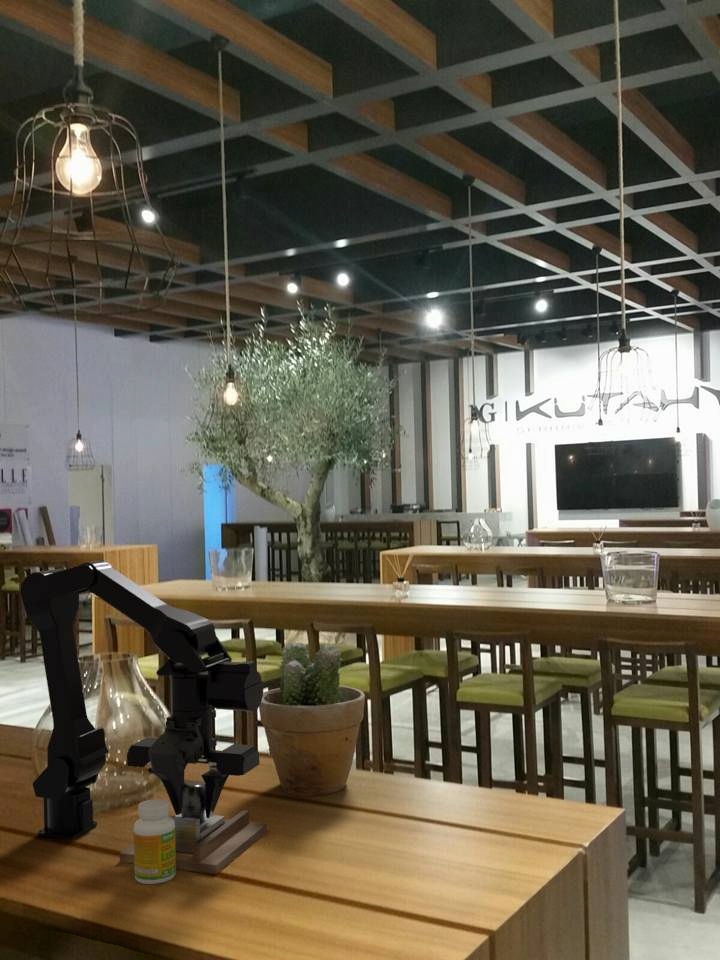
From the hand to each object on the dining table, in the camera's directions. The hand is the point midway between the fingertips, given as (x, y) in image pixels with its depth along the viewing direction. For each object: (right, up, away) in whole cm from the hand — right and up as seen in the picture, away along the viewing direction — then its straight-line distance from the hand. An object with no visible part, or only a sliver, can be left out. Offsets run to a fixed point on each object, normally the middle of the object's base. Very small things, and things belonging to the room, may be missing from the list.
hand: (194, 815), depth 136 cm
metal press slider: (0, -3, -1) cm, 3 cm away
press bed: (0, -5, 0) cm, 5 cm away
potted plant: (+16, -4, +27) cm, 31 cm away
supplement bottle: (-3, -5, -10) cm, 12 cm away
